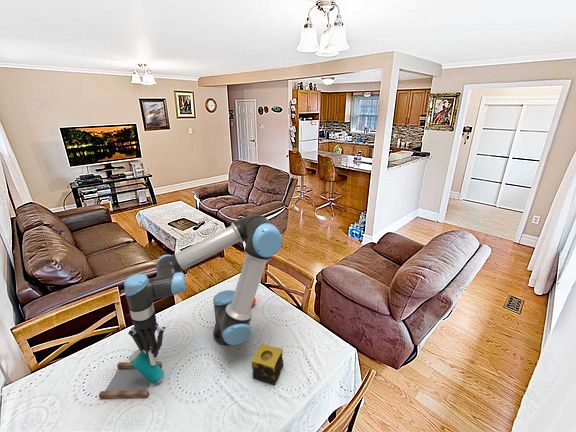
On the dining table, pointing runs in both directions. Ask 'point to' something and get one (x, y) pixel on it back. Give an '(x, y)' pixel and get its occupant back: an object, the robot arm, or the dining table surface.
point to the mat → (128, 381)
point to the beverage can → (146, 367)
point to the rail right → (129, 366)
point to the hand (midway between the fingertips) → (154, 362)
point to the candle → (267, 364)
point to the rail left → (124, 394)
